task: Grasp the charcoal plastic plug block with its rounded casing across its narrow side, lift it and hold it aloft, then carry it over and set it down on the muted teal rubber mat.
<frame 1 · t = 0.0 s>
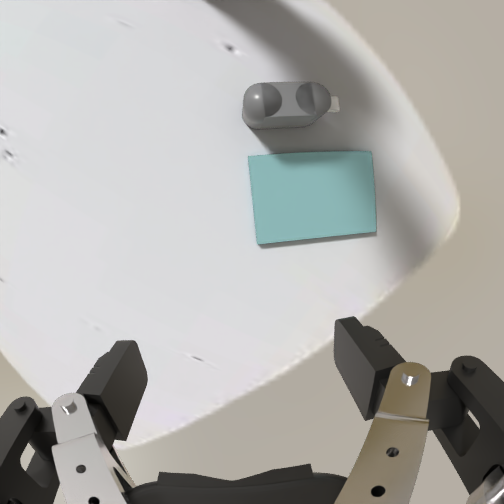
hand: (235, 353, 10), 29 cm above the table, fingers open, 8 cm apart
mat: (316, 194, 38), on the table
plug block: (279, 113, 35), on the table
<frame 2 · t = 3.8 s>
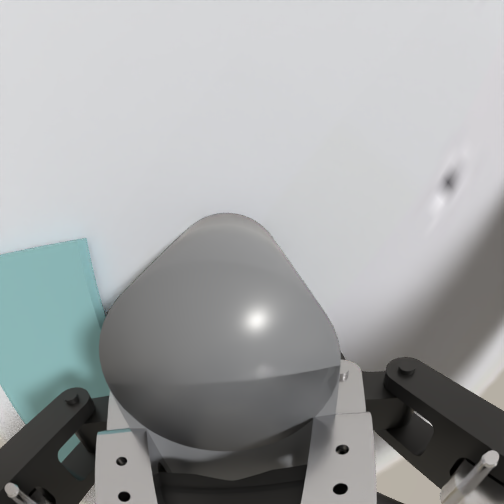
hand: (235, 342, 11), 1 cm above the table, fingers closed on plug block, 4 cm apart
mat: (57, 391, 13), on the table
plug block: (235, 332, 12), on the table, touching gripper
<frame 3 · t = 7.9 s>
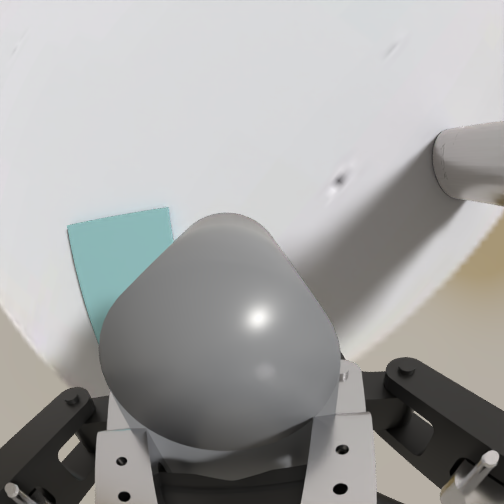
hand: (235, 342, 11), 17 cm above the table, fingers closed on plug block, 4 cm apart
mat: (131, 297, 28), on the table
plug block: (235, 332, 12), point 16 cm above the table, touching gripper
when the fingers open (3 cm above the table, at t = 12.2 s): plug block drops 1 cm, resting on mat.
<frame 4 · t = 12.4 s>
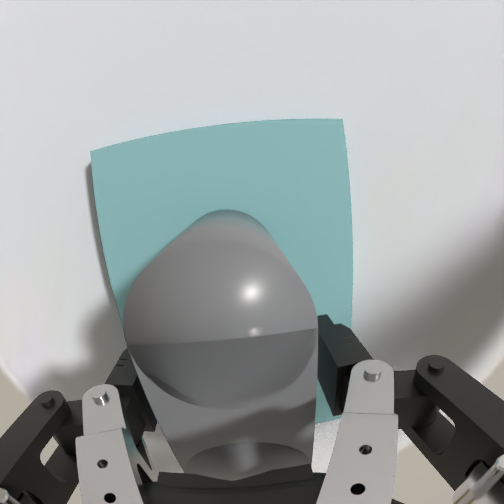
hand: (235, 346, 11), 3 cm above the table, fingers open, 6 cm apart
mat: (234, 310, 14), on the table
plug block: (234, 317, 13), point 1 cm above the table, touching mat
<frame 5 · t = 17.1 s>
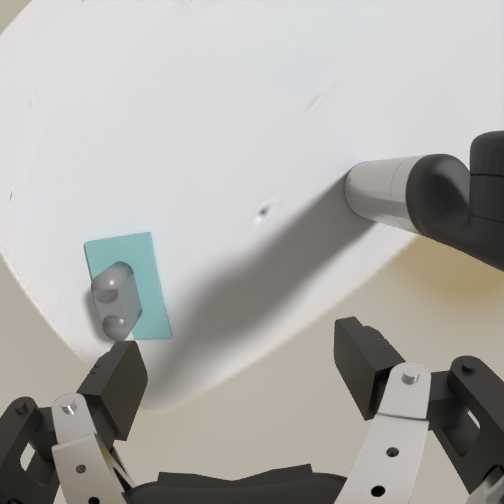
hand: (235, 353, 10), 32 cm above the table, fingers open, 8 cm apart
mat: (127, 290, 43), on the table
plug block: (125, 291, 42), point 1 cm above the table, touching mat
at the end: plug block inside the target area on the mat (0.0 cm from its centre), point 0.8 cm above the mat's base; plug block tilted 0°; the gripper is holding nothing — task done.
